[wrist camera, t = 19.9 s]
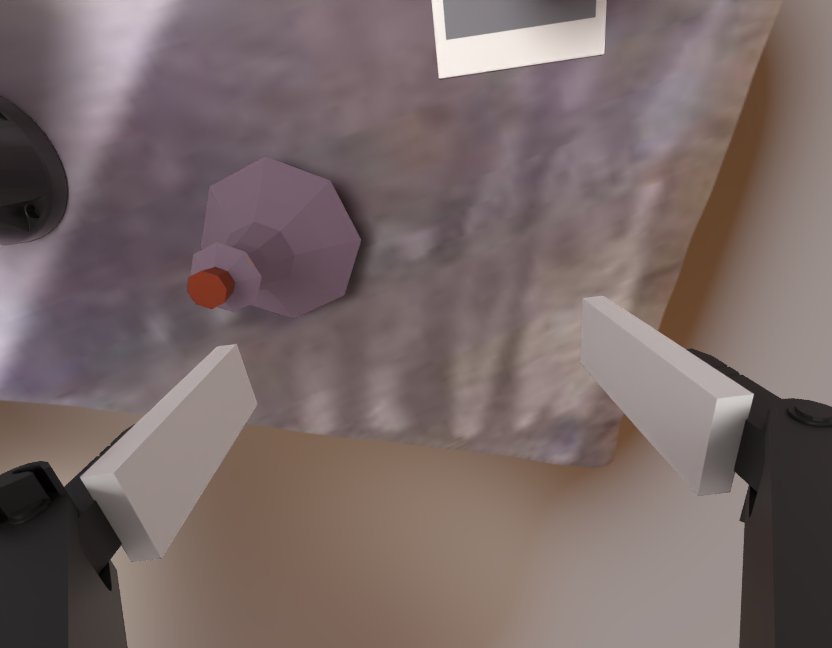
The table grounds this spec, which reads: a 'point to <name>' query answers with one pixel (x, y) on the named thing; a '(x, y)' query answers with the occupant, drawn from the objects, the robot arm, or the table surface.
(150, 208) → the table surface
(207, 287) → the flask
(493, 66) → the paper sheet
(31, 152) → the robot arm
